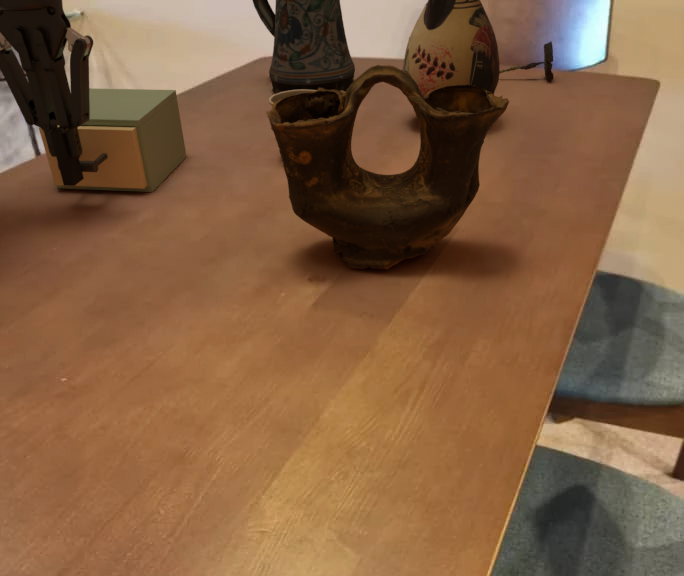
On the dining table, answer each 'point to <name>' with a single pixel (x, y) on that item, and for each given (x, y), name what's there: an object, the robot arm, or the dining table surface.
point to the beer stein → (307, 45)
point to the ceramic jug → (453, 47)
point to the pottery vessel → (376, 189)
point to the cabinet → (142, 128)
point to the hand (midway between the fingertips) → (73, 181)
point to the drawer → (105, 157)
